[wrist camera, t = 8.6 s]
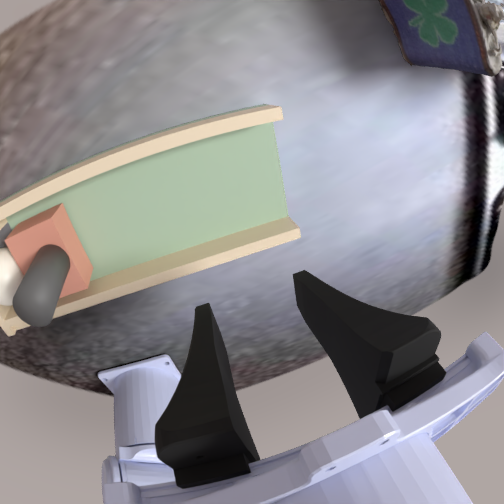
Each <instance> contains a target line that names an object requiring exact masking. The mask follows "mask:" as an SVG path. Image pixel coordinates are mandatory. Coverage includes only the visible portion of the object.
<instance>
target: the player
mask: <svg viewBox="0 0 504 504" xmlns="http://www.w3.org/2000/svg"><path fill="white" fill-rule="evenodd" d="M4 241H5V243H6V245H7V246H8V248H9V250H10V252H11V254H12V256H13V258H14V259H15V261H16V263H17V265H18V266H19V268H20V270H21V272H22V273H23V275H24V277H23V279H22V281H21V283H20V285H19V287H18V289H17V291H16V293H15V295H14V297H13V301H12V303H13V308H14V311H15V313H16V314H17V315H18V317H19V318H20V319H21V320H22V321H24V322H25V323H27V324H29V325H31V326H35V327H44V326H47V325H48V324H49V323H50V322H51V321H52V319H53V315H54V312H55V309H56V306H57V303H58V300H59V298H62V297H65V296H67V295H70V294H73V293H76V292H79V291H82V290H85V289H88V286H89V282H90V278H91V275H92V271H93V266H92V264H91V262H90V260H89V258H88V256H87V254H86V252H85V250H84V248H83V246H82V244H81V242H80V240H79V238H78V236H77V234H76V232H75V230H74V227H73V225H72V223H71V221H70V219H69V216H68V214H67V212H66V210H65V207H64V205H63V203H61V204H58V205H56V206H54V207H52V208H50V209H47V210H45V211H43V212H41V213H39V214H37V215H35V216H33V217H31V218H28V219H26V220H24V221H22V222H20V223H18V224H17V226H16V227H15V228H14V229H13V230H12V232H11V233H10V234H9V235H8V237H7V238H6V239H5V240H4Z"/></svg>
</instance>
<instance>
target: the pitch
mask: <svg viewBox="0 0 504 504" xmlns="http://www.w3.org/2000/svg"><path fill="white" fill-rule="evenodd" d="M279 120H283V114H282V109H281V107H280V106H274V105H267V104H263V105H258V106H253V107H248V108H244V109H239V110H235V111H230V112H226V113H222V114H218V115H214V116H210V117H206V118H203V119H199V120H195V121H192V122H188V123H185V124H181V125H178V126H175V127H171V128H168V129H165V130H162V131H159V132H156V133H153V134H150V135H147V136H144V137H141V138H138V139H135V140H132V141H130V142H127V143H124V144H121V145H119V146H116V147H113V148H111V149H108V150H106V151H103V152H101V153H98V154H96V155H93V156H91V157H89V158H86V159H84V160H82V161H79V162H77V163H75V164H72V165H70V166H68V167H66V168H64V169H61V170H59V171H57V172H55V173H53V174H51V175H49V176H47V177H45V178H43V179H41V180H39V181H37V182H35V183H33V184H31V185H29V186H27V187H25V188H23V189H21V190H19V191H18V192H16V193H14V194H12V195H10V196H9V197H7V198H5V199H3V200H2V201H0V248H8V246H7V245H6V243H5V241H4V240H5V239H6V238H7V237H8V235H9V234H10V233H11V232H12V230H13V229H14V228H15V227H16V226H17V224H18V223H20V222H22V221H24V220H26V219H28V218H31V217H33V216H35V215H37V214H39V213H41V212H43V211H45V210H47V209H50V208H52V207H54V206H56V205H58V204H61V203H63V205H64V207H65V210H66V212H67V214H68V216H69V219H70V221H71V223H72V225H73V227H74V230H75V232H76V234H77V236H78V238H79V240H80V242H81V244H82V246H83V248H84V250H85V252H86V254H87V256H88V258H89V260H90V262H91V264H92V266H93V271H92V275H91V278H90V282H89V286H88V289H85V290H82V291H79V292H76V293H73V294H70V295H67V296H65V297H62V298H59V300H58V303H57V306H56V309H55V312H54V315H53V318H56V317H59V316H63V315H66V314H69V313H72V312H75V311H78V310H81V309H84V308H87V307H90V306H93V305H96V304H99V303H103V302H106V301H109V300H112V299H115V298H118V297H121V296H124V295H127V294H130V293H133V292H136V291H139V290H142V289H146V288H149V287H152V286H155V285H158V284H161V283H164V282H167V281H170V280H173V279H176V278H179V277H182V276H185V275H188V274H191V273H195V272H198V271H201V270H204V269H207V268H210V267H213V266H216V265H219V264H222V263H225V262H228V261H231V260H234V259H237V258H240V257H243V256H246V255H250V254H253V253H256V252H259V251H262V250H265V249H268V248H271V247H274V246H277V245H280V244H283V243H286V242H289V241H292V240H295V239H298V238H301V235H300V228H299V227H298V226H297V225H296V224H295V222H294V221H293V220H292V219H291V218H290V217H289V216H288V210H287V204H286V197H285V191H284V185H283V179H282V172H281V166H280V160H279V155H278V149H277V143H276V137H275V132H274V126H273V122H274V121H279ZM0 326H1V328H2V329H3V330H4V331H5V333H6V334H7V335H8V337H9V336H12V335H15V333H16V330H19V329H22V328H26V327H29V326H31V325H29V324H27V323H25V322H24V321H22V320H21V319H20V318H19V317H18V315H17V314H16V313H15V311H14V308H13V305H11V306H4V305H0Z"/></svg>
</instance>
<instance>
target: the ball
mask: <svg viewBox="0 0 504 504" xmlns="http://www.w3.org/2000/svg"><path fill="white" fill-rule="evenodd" d="M23 277H24V275H23V273H22V272H21V270H20V268H19V266H18V265H17V263H16V261H15V259H14V258H13V256H12V254H11V252H10V250H9V248H0V305H4V306H11V305H13V303H12V301H13V297H14V295H15V293H16V291H17V289H18V287H19V285H20V283H21V281H22V279H23Z"/></svg>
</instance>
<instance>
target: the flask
mask: <svg viewBox="0 0 504 504" xmlns="http://www.w3.org/2000/svg"><path fill="white" fill-rule="evenodd" d="M379 2H380V3H381V6H382V10H383V12H384V15H385V16H386V19H387V20H388V22H390V23H391V25H393V28H394V31H393V33H394V34H395V35H396V36H397V38H398V43H399V44H398V45H399V46H400V48H401V52H402V55H403V58H404V59H405V60H406V61H407V62H408V63H410V65H411V66H412V64H413V65H418V66H427V67H438V68H443V69H444V68H446V69H455V70H459V71H467V72H473V73H478V74H484V75H488V76H495V75H496V74H497V73H499V71H500V69H501V67H502V60H501V54H502V49H501V45H500V44H499V45H498V38H497V32H496V31H497V30H498V28H499V25H500V22H499V21H500V20H504V12H503V10H502V7H504V4H502V3H501V6H502V7H501V6H499V5H496V4H495V3H492V4H491V3H490V2H489V1H488V3H486V2H485V0H379Z"/></svg>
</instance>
